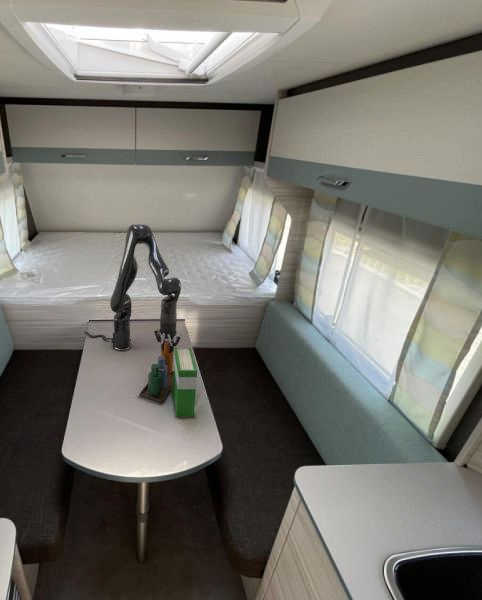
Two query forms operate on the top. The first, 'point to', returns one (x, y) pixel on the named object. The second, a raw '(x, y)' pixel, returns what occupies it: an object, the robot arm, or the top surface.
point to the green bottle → (154, 381)
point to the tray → (163, 392)
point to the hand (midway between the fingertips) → (167, 350)
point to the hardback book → (184, 382)
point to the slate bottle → (162, 371)
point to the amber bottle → (168, 356)
